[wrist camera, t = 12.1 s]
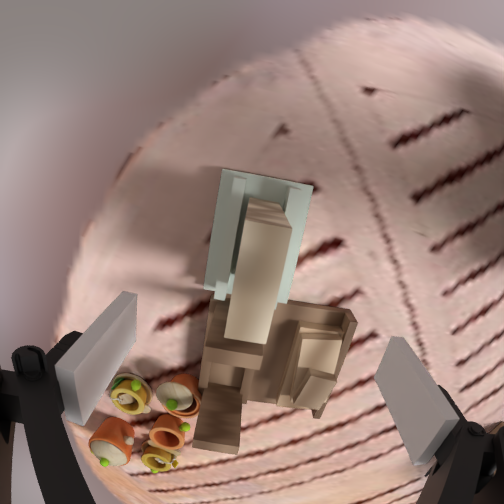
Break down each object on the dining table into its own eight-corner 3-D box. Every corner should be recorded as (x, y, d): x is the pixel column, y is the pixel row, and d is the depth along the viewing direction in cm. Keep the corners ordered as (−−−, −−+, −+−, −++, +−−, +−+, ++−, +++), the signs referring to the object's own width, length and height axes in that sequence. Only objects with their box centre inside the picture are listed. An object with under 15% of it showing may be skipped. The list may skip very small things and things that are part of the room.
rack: (350, 309, 40) (380, 363, 28) (316, 402, 44) (329, 463, 32) (213, 286, 39) (196, 338, 27) (199, 386, 43) (185, 448, 32)
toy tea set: (173, 466, 50) (164, 504, 41) (98, 434, 48) (80, 470, 39) (222, 377, 43) (215, 425, 34) (121, 334, 42) (93, 373, 32)
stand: (311, 185, 36) (318, 188, 31) (285, 299, 39) (289, 315, 35) (223, 168, 35) (218, 169, 31) (204, 285, 39) (198, 300, 35)
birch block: (278, 202, 35) (292, 228, 21) (263, 279, 37) (265, 344, 24) (249, 197, 35) (244, 220, 21) (235, 274, 37) (224, 337, 24)
